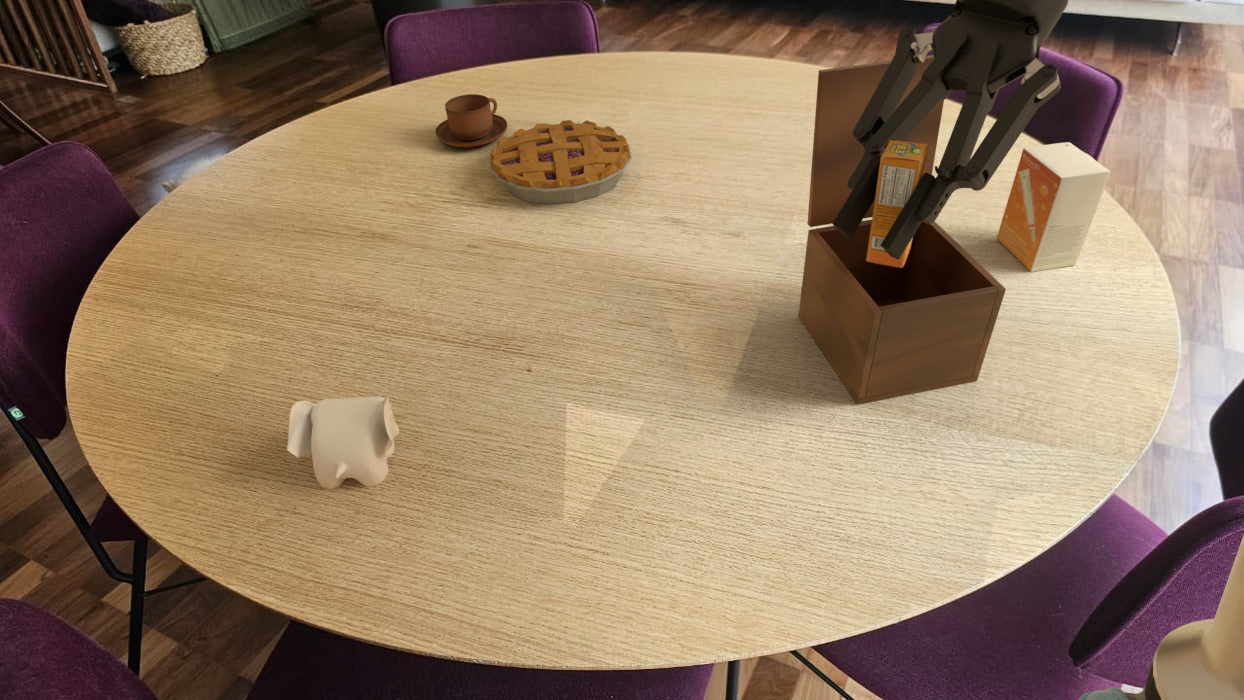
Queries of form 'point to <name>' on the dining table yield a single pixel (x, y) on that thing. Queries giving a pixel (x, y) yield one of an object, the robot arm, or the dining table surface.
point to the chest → (898, 312)
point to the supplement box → (894, 194)
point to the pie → (560, 162)
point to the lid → (833, 133)
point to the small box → (1052, 205)
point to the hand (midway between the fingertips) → (865, 241)
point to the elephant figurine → (344, 438)
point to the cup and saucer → (471, 122)
